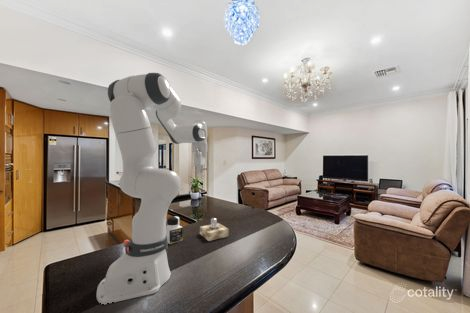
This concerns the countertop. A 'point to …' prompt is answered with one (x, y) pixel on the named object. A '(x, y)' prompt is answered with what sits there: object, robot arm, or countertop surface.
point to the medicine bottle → (174, 230)
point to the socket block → (214, 232)
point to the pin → (213, 223)
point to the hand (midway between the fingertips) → (199, 173)
